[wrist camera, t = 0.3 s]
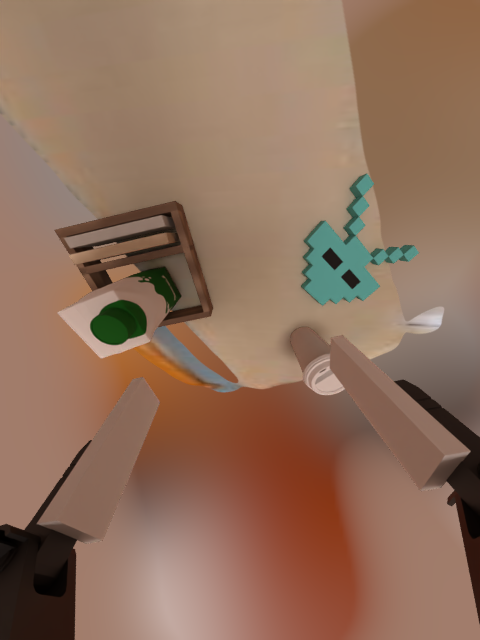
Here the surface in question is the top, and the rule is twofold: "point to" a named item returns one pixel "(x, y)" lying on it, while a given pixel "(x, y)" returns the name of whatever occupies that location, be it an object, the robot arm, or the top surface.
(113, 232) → the grey offcut
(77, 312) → the soya milk
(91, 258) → the birch offcut
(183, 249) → the offcut rack
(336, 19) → the top surface
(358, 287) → the alien figure
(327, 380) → the coffee cup
